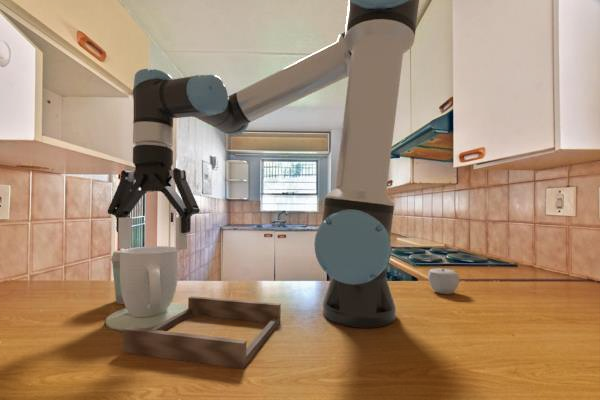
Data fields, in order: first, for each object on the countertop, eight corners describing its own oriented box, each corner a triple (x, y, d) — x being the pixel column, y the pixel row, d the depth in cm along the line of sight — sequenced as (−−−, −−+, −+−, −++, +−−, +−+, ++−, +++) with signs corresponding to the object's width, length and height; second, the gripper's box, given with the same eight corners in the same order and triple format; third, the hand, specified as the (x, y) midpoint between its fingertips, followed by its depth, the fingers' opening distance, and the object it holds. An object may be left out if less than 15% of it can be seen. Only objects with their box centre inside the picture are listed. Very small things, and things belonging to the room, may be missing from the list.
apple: (462, 292, 81) (462, 268, 81) (456, 298, 75) (456, 273, 75) (431, 287, 86) (431, 264, 86) (423, 293, 80) (423, 268, 80)
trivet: (201, 307, 66) (201, 305, 66) (155, 335, 52) (155, 331, 52) (144, 302, 70) (144, 299, 70) (85, 326, 55) (85, 323, 55)
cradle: (280, 321, 59) (280, 303, 59) (243, 369, 41) (243, 343, 41) (190, 312, 63) (191, 296, 63) (122, 352, 46) (123, 329, 46)
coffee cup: (121, 308, 65) (122, 254, 66) (102, 301, 70) (103, 251, 70) (157, 298, 73) (158, 249, 73) (138, 293, 77) (139, 247, 78)
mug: (186, 321, 57) (188, 253, 57) (119, 334, 51) (121, 257, 51) (172, 300, 69) (173, 244, 70) (117, 309, 63) (119, 247, 64)
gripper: (216, 147, 63) (216, 247, 62) (118, 153, 68) (117, 245, 68) (196, 139, 56) (196, 252, 55) (88, 146, 61) (86, 249, 60)
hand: (152, 248), depth 61 cm, fingers open, 13 cm apart
